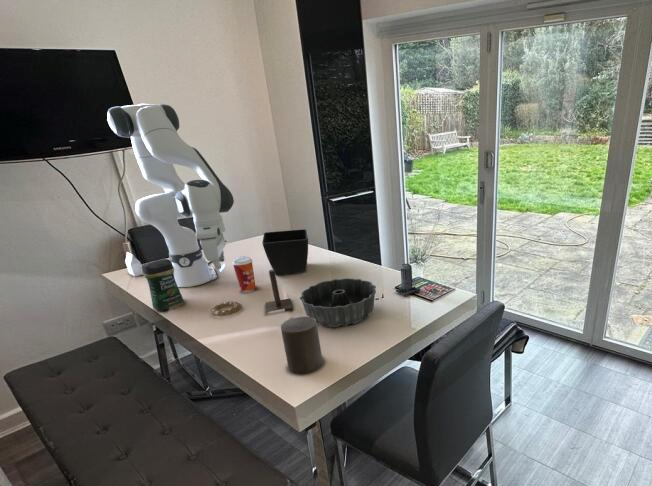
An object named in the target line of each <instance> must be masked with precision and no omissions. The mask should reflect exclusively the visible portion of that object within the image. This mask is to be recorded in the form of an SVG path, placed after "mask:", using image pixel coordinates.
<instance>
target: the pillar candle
mask: <svg viewBox="0 0 652 486" xmlns="http://www.w3.org/2000/svg"><path fill="white" fill-rule="evenodd" d="M280 332H281V337H282V342H283V347H284V353H285V357H286V362H287V367H288V370H289V372H291V373H293V374H297V375H305V374H309V373H312V372H315V371H317V370H318V369H320V367H321V366H322V365H323V363H324V361H323V354H322V347H321V343H320V337H319V335H320V334H319V329H318V324H317V323H316V319H315V318H311V317H309V316H308V315H306V316H296V317H291V318H289V319H287V320H285V321H284V322H282V324H281V325H280Z"/></svg>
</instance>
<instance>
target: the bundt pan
mask: <svg viewBox="0 0 652 486" xmlns="http://www.w3.org/2000/svg"><path fill="white" fill-rule="evenodd" d="M376 288H377V286H376V285H374V284H373V282H372V281H369V280H363V279H362V278H353V277H352V278H351V277H346V278H333V279H331V280H324V281H320V282H318V283H315V285H310V286H308V288H306V289H304V290H303V291H302V292H301V295H300V296H299V300H300V301H301V303H302V306H303V308H304V312H305V314H306V316H307V317H311V318H315V319H316V323H317V325H320V326H321V327H331V328H338V327H340V326H343V327H347V326H348V325H349V324H351V325H353V324H354V325H355V324H357V323H359V322H360V321H363V320H364V321H365V320H366V319H367V318H368V317H369V315H370V314H371V313H372V312H373V311H374V308H375V296H376V294H377V289H376Z"/></svg>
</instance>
